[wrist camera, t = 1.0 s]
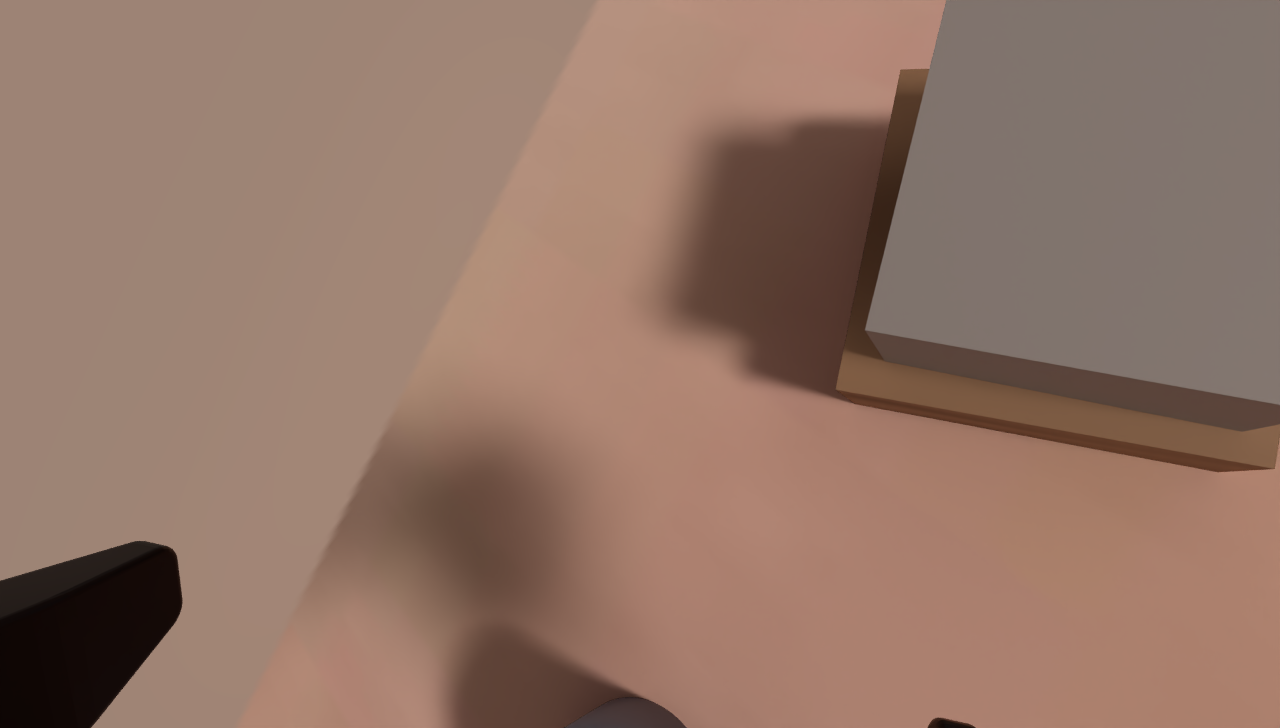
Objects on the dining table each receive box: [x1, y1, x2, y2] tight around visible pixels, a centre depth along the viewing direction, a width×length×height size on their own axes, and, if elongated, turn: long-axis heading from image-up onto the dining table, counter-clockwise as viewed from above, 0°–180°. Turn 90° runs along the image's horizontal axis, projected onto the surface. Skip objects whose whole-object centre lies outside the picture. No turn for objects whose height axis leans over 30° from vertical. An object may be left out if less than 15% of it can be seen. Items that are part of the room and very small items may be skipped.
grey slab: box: [865, 0, 1280, 432], centre depth 13 cm, size 6×6×4 cm
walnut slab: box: [835, 69, 1280, 472], centre depth 16 cm, size 8×8×4 cm
